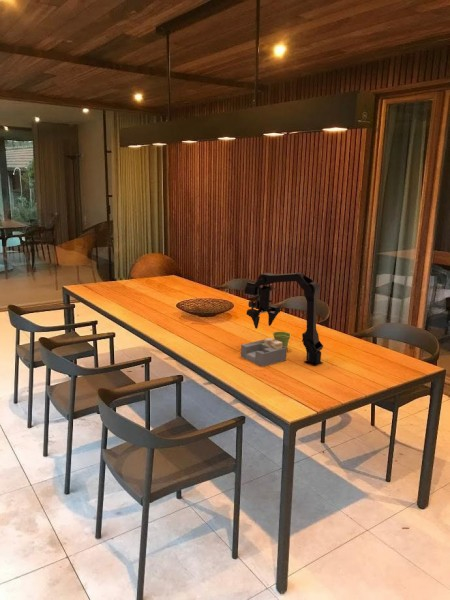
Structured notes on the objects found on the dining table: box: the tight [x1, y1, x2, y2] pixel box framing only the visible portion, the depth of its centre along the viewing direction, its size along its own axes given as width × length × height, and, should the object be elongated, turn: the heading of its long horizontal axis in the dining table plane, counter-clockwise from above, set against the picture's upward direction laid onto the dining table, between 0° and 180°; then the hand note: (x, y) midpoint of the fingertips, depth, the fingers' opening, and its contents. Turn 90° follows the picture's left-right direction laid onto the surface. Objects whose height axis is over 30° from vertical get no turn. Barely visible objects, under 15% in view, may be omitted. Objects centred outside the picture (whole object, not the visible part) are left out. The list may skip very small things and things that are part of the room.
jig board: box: [240, 339, 288, 368], centre depth 239 cm, size 16×16×6 cm
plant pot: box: [272, 331, 292, 349], centre depth 253 cm, size 9×9×9 cm
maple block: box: [263, 337, 283, 350], centre depth 240 cm, size 9×4×4 cm, turn 36°
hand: (262, 327), depth 248 cm, fingers open, 9 cm apart
